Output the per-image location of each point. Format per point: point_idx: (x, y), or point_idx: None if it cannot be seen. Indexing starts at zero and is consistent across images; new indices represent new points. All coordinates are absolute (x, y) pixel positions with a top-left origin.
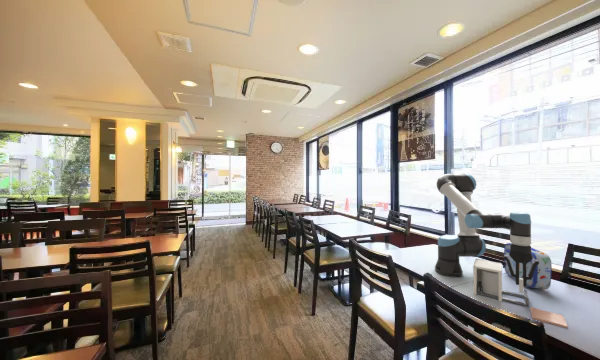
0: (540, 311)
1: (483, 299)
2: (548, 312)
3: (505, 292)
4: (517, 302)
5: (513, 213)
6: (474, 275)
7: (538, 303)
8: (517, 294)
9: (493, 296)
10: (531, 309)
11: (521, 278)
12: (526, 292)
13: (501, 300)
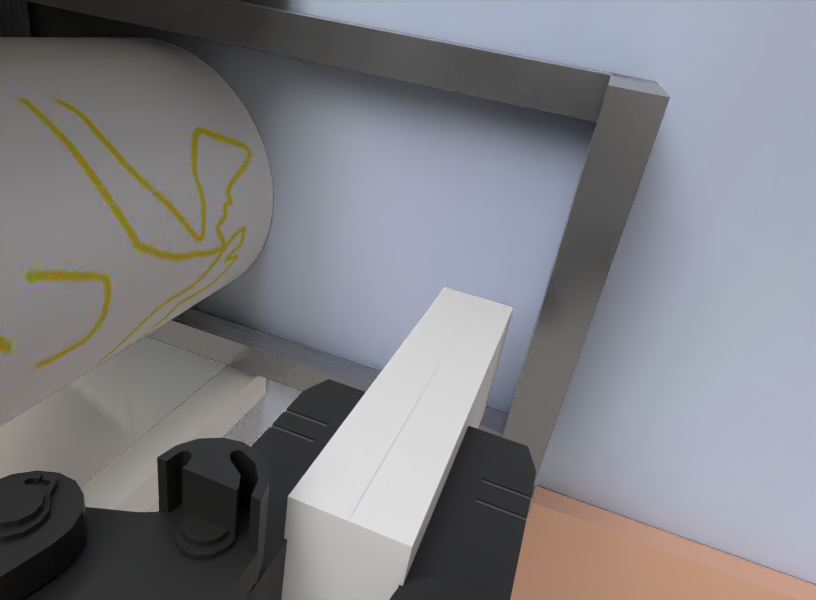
0: (612, 580)
1: (116, 398)
2: (712, 588)
3: (322, 61)
4: None
5: None
6: None
7: (775, 252)
8: (492, 98)
9: (174, 338)
10: (520, 555)
11: (358, 569)
12: (576, 313)
13: (254, 400)
